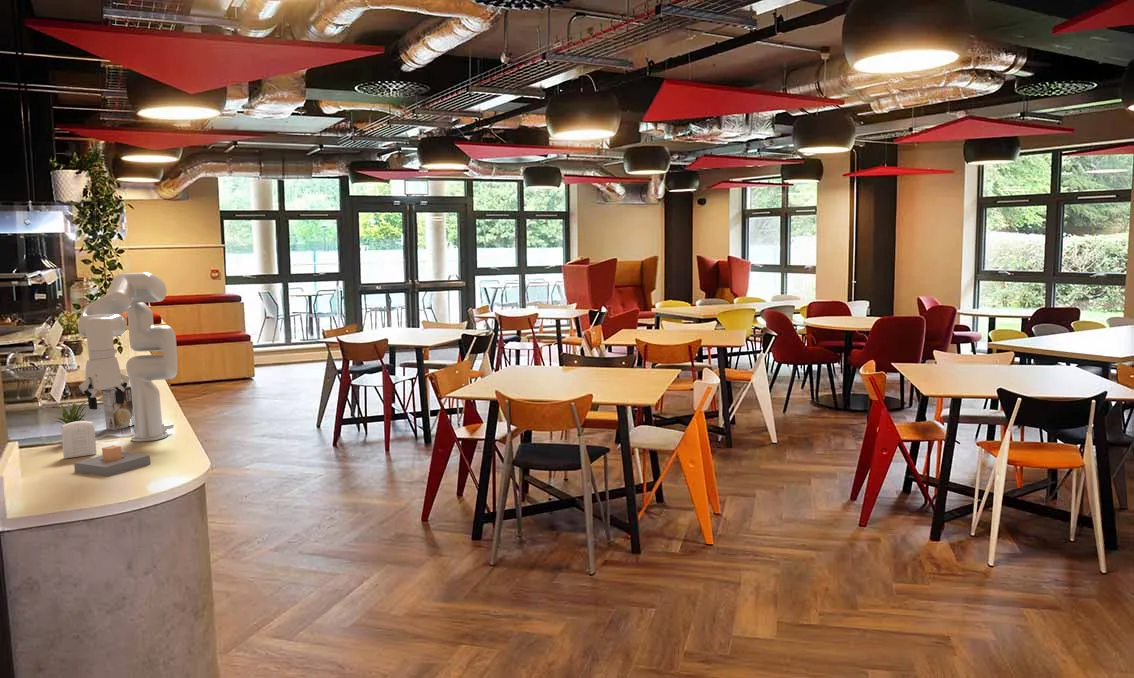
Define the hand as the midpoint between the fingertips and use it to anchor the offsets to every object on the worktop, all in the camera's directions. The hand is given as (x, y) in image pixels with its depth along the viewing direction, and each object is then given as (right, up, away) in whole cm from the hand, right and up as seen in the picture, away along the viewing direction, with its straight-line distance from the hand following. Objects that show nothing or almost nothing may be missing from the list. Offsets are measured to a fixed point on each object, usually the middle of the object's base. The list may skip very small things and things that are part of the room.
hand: (106, 406), depth 293 cm
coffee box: (-29, -14, +67) cm, 74 cm away
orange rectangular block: (+1, -21, +1) cm, 21 cm away
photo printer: (-19, -19, +20) cm, 34 cm away
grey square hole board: (+1, -20, +1) cm, 21 cm away
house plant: (-33, -17, +42) cm, 56 cm away
